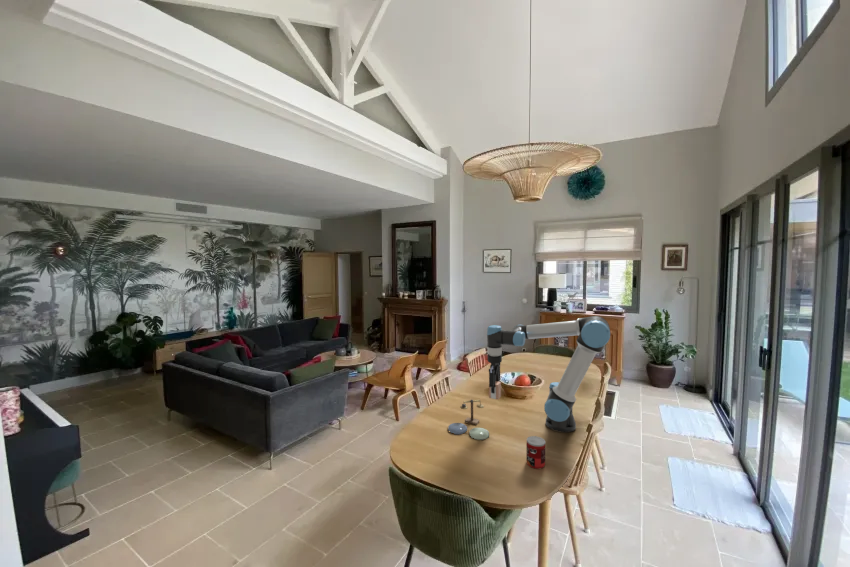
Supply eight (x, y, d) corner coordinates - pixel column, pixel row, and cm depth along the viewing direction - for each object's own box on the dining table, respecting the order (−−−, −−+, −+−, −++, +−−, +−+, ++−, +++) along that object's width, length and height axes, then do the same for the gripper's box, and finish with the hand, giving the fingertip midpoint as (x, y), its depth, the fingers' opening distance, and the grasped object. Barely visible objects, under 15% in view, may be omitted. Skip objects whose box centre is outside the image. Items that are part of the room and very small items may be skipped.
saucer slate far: (469, 427, 190) (469, 425, 190) (462, 436, 181) (462, 433, 181) (452, 423, 194) (452, 421, 194) (445, 431, 186) (445, 429, 186)
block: (500, 396, 192) (500, 381, 191) (498, 399, 188) (498, 385, 187) (492, 394, 194) (491, 380, 194) (489, 397, 190) (489, 383, 189)
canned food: (523, 459, 160) (523, 436, 159) (540, 458, 160) (541, 435, 159) (530, 470, 152) (530, 445, 151) (548, 468, 153) (548, 444, 152)
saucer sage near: (491, 432, 184) (491, 430, 184) (485, 441, 175) (485, 439, 175) (473, 428, 189) (473, 426, 189) (466, 437, 180) (466, 434, 180)
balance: (485, 423, 194) (484, 399, 193) (482, 426, 191) (482, 402, 189) (462, 418, 200) (461, 394, 199) (459, 421, 197) (459, 397, 196)
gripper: (492, 349, 198) (493, 389, 201) (482, 358, 183) (483, 401, 185) (506, 350, 195) (506, 391, 197) (496, 360, 179) (496, 404, 181)
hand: (495, 396), depth 191 cm, fingers closed on block, 5 cm apart
